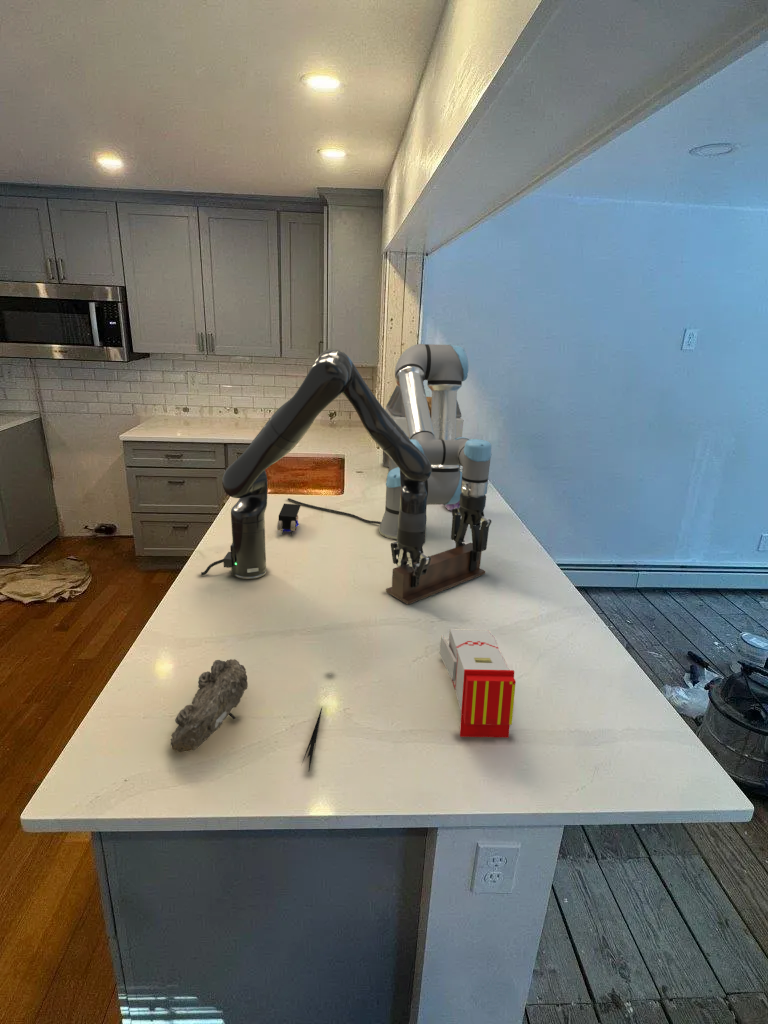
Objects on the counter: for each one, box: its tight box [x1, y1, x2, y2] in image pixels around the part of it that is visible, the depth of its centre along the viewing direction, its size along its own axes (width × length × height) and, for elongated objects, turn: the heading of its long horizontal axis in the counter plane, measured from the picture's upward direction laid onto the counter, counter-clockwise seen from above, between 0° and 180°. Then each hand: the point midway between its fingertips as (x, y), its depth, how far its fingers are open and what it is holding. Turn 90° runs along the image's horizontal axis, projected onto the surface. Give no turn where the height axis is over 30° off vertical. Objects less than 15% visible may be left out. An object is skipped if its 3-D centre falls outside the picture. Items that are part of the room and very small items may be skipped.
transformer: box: [381, 384, 464, 472], centre depth 268 cm, size 34×33×41 cm
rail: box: [385, 542, 486, 605], centre depth 163 cm, size 32×9×8 cm, turn 131°
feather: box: [301, 673, 332, 771], centre depth 108 cm, size 2×28×2 cm
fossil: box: [170, 658, 249, 753], centre depth 106 cm, size 22×10×15 cm
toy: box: [438, 628, 517, 738], centre depth 117 cm, size 12×13×30 cm
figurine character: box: [276, 503, 301, 536], centre depth 198 cm, size 7×8×15 cm
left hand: (408, 583), depth 156 cm, fingers closed on rail, 4 cm apart
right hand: (465, 566), depth 172 cm, fingers closed on rail, 4 cm apart
